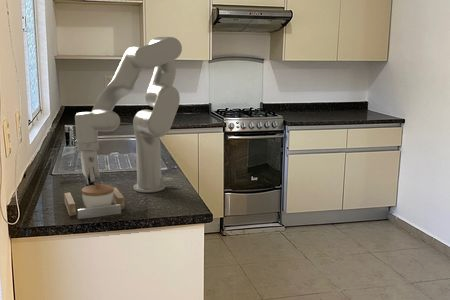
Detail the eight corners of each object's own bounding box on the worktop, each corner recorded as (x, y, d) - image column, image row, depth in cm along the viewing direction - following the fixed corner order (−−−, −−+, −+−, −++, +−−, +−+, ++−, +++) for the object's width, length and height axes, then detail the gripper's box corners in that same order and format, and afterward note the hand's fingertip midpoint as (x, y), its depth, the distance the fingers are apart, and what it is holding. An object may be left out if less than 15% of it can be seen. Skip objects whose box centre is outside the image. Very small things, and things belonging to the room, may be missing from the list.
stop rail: (120, 212, 167) (119, 203, 166) (121, 213, 166) (120, 205, 165) (77, 217, 162) (77, 209, 161) (78, 219, 160) (78, 210, 160)
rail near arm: (116, 197, 183) (115, 187, 183) (124, 208, 171) (124, 197, 170) (110, 198, 183) (110, 188, 182) (118, 209, 170) (118, 198, 169)
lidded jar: (78, 208, 171) (77, 182, 169) (107, 203, 177) (106, 178, 175) (88, 217, 162) (87, 189, 160) (119, 211, 168) (118, 185, 166)
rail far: (70, 203, 177) (70, 192, 176) (75, 214, 164) (75, 203, 164) (64, 203, 176) (64, 193, 175) (69, 215, 164) (68, 204, 163)
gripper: (102, 149, 172) (105, 198, 176) (94, 141, 186) (98, 187, 190) (80, 151, 169) (84, 201, 173) (74, 143, 183) (78, 190, 187)
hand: (91, 194), depth 181 cm, fingers closed
